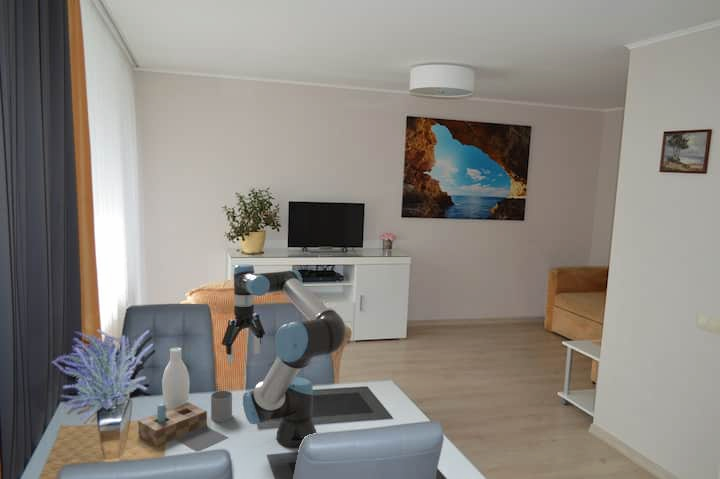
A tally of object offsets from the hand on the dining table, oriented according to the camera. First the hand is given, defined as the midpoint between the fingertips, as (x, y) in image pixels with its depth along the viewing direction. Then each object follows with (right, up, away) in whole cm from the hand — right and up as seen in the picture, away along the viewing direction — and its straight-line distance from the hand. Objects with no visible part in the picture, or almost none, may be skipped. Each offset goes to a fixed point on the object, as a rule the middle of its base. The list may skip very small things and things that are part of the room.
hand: (244, 357), depth 210 cm
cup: (-12, -27, +10) cm, 31 cm away
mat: (-14, -29, -8) cm, 33 cm away
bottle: (-33, -25, +20) cm, 46 cm away
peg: (-30, -28, -5) cm, 42 cm away
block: (-27, -28, -2) cm, 39 cm away
